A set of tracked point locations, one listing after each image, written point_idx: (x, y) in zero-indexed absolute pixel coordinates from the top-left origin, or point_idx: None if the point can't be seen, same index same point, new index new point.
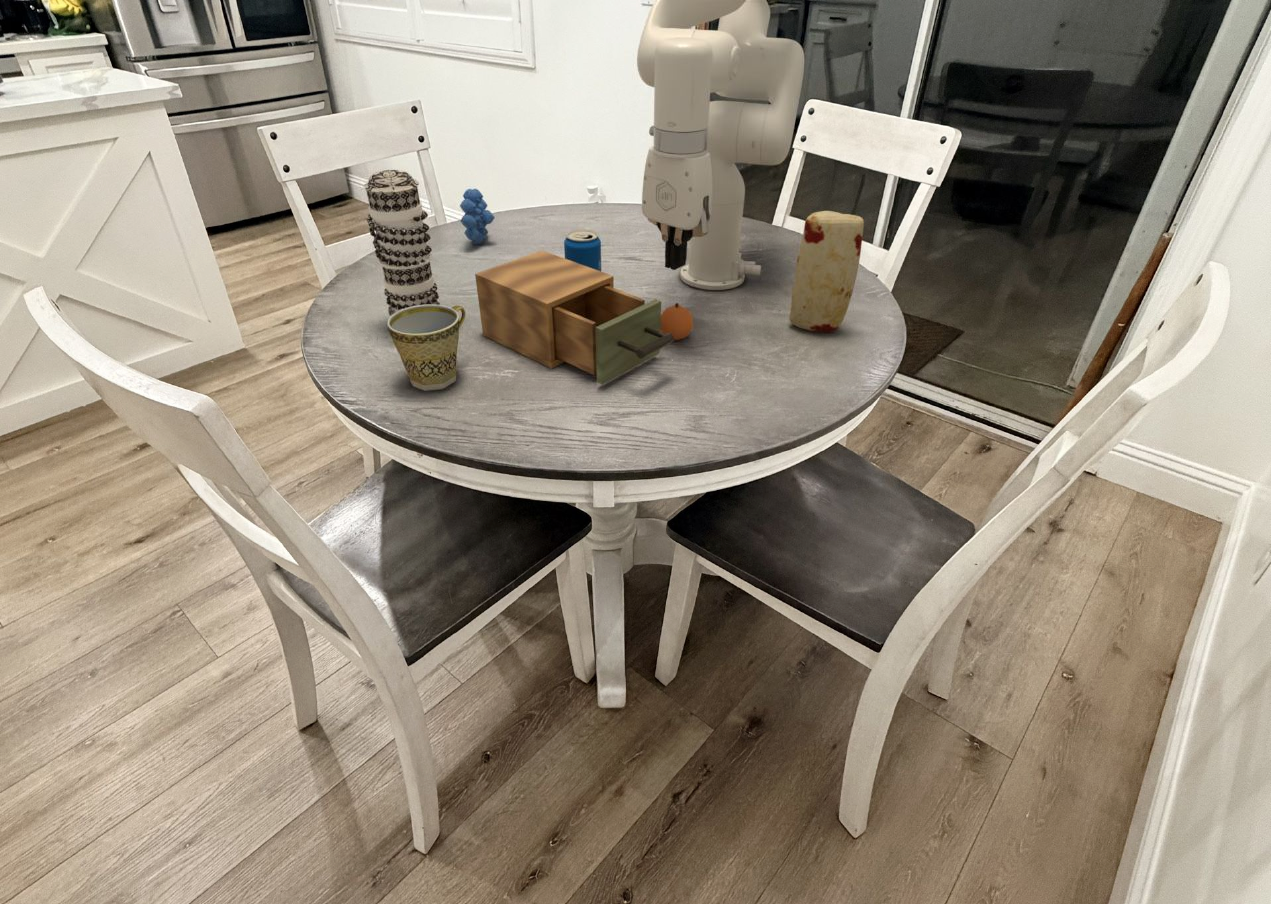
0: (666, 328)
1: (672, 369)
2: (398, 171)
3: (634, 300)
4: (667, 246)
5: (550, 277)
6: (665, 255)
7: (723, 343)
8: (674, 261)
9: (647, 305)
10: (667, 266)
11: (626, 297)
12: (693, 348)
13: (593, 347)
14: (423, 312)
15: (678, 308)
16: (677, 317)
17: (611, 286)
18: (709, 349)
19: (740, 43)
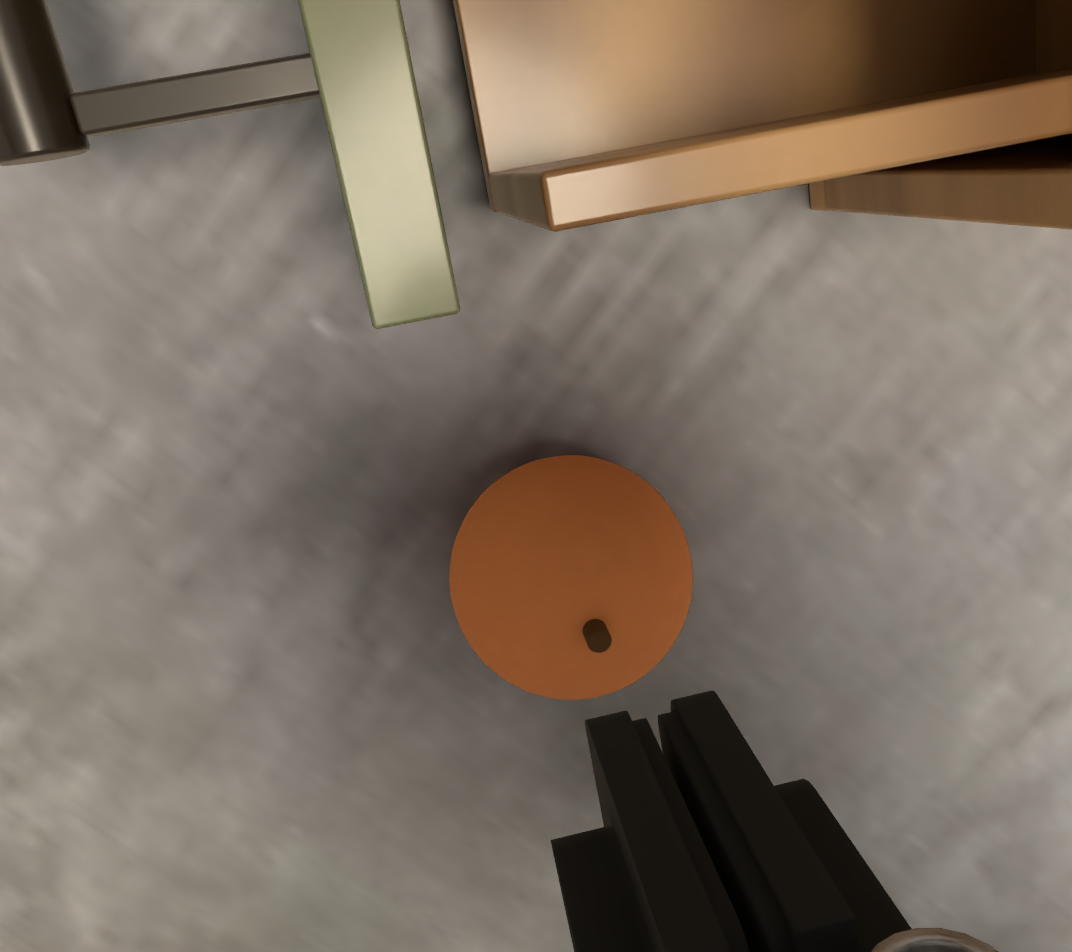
0: (541, 466)
1: (214, 243)
2: None
3: (637, 153)
4: (793, 890)
5: None
6: (763, 777)
7: (316, 721)
8: (609, 800)
9: (370, 117)
10: (678, 705)
11: (752, 133)
12: (372, 538)
13: None
14: None
15: (569, 626)
16: (509, 560)
17: (1061, 192)
18: (302, 608)
19: None
